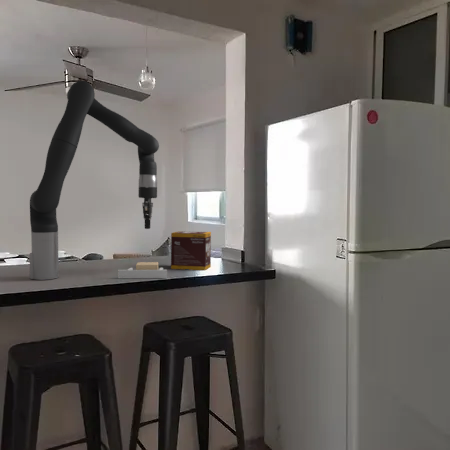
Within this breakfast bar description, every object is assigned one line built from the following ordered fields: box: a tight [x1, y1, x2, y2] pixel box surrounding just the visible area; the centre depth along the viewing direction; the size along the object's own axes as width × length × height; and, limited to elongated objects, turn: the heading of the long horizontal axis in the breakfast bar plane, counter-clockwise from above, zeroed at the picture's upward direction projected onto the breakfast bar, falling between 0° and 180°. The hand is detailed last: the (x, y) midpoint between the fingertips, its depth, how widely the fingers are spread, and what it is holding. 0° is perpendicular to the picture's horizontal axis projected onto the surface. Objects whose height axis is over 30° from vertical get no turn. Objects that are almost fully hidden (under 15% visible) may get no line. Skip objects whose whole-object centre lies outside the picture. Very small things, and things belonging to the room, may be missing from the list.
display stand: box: [117, 267, 168, 279], centre depth 174 cm, size 18×13×3 cm
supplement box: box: [170, 231, 212, 271], centre depth 194 cm, size 10×15×16 cm
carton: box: [135, 261, 159, 270], centre depth 173 cm, size 8×8×5 cm
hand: (147, 228), depth 184 cm, fingers closed
